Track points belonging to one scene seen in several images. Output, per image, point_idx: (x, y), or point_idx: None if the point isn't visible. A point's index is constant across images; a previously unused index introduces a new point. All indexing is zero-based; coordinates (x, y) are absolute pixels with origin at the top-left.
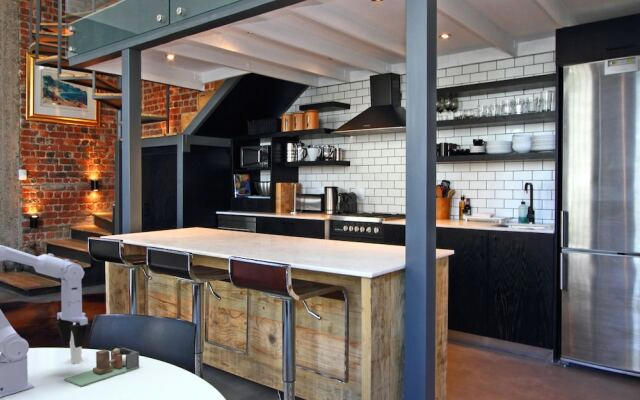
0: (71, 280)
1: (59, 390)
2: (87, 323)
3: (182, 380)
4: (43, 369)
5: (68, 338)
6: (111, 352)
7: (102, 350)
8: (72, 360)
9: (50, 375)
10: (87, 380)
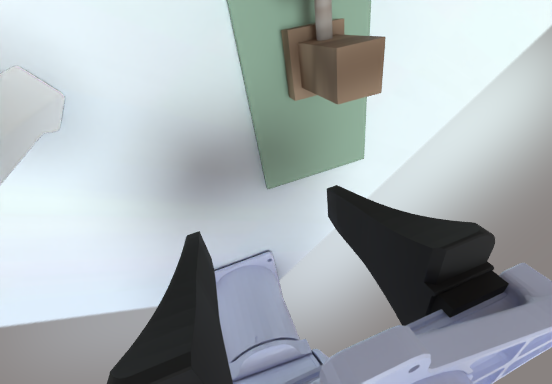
0: None
1: None
2: (529, 266)
3: None
4: (88, 230)
5: (204, 254)
6: None
7: (344, 66)
8: (49, 129)
9: (187, 214)
10: (343, 134)
